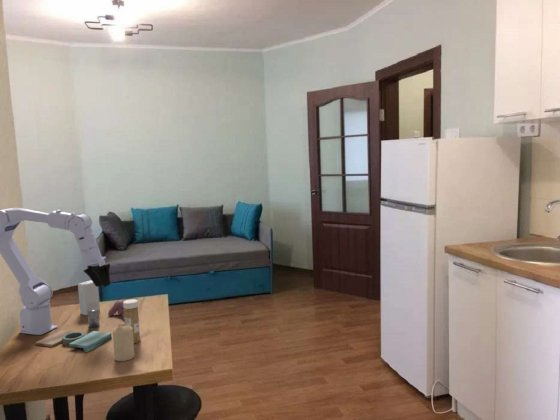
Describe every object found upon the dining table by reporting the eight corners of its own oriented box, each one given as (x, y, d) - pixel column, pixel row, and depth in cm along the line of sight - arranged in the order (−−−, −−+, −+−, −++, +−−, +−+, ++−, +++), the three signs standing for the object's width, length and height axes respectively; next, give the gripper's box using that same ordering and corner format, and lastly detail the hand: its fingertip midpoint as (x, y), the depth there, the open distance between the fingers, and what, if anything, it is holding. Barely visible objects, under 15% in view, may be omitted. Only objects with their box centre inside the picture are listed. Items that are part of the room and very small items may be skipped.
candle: (123, 363, 133) (121, 329, 131) (110, 359, 135) (108, 326, 134) (138, 355, 137) (136, 323, 136) (126, 352, 140) (123, 320, 139)
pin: (86, 327, 162) (85, 311, 161) (93, 324, 165) (92, 308, 164) (94, 328, 160) (93, 312, 160) (101, 325, 164) (100, 308, 163)
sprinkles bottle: (142, 341, 148) (139, 301, 146) (127, 345, 145) (125, 304, 144) (138, 337, 151) (135, 297, 150) (124, 340, 149) (121, 300, 147)
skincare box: (93, 309, 182) (91, 279, 180) (100, 311, 179) (98, 280, 178) (79, 314, 176) (77, 283, 175) (86, 315, 174) (84, 284, 173)
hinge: (35, 344, 148) (34, 338, 147) (61, 332, 158) (61, 326, 158) (88, 351, 141) (87, 345, 141) (111, 338, 151) (111, 332, 151)
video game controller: (133, 321, 171) (138, 303, 173) (123, 319, 167) (129, 300, 169) (115, 317, 176) (121, 299, 178) (106, 315, 173) (112, 296, 174)
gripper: (108, 243, 154) (121, 280, 155) (93, 245, 165) (106, 281, 166) (87, 250, 149) (102, 289, 151) (74, 252, 160) (87, 289, 162)
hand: (103, 285), depth 158 cm, fingers open, 7 cm apart
